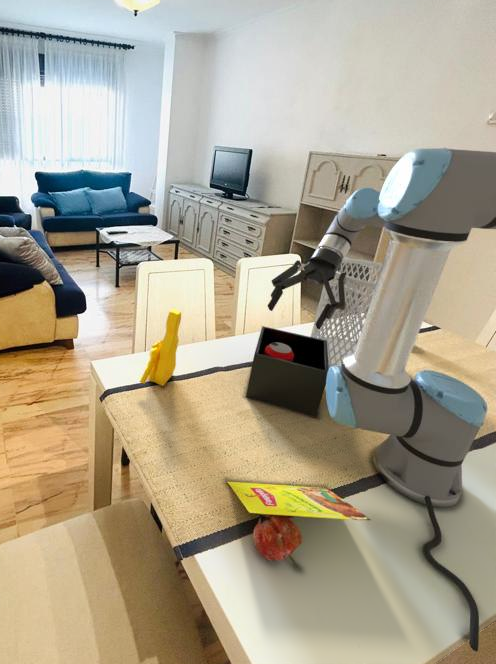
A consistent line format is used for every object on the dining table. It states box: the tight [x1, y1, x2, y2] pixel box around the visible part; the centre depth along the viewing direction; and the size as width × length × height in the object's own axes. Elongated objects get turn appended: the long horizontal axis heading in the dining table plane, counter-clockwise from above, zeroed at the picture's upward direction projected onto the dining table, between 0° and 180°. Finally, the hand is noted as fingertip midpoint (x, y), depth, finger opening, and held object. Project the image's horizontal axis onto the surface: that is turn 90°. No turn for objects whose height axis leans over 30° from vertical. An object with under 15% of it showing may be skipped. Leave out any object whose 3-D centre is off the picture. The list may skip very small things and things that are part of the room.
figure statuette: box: [139, 308, 182, 387], centre depth 105 cm, size 18×8×22 cm, turn 150°
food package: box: [227, 481, 372, 522], centre depth 70 cm, size 15×1×20 cm
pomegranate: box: [252, 513, 303, 568], centre depth 64 cm, size 7×7×10 cm
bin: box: [245, 325, 329, 418], centre depth 105 cm, size 18×18×14 cm
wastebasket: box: [310, 258, 383, 368], centre depth 120 cm, size 25×25×30 cm
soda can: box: [264, 342, 294, 362], centre depth 106 cm, size 8×8×12 cm
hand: (292, 317), depth 103 cm, fingers open, 13 cm apart
